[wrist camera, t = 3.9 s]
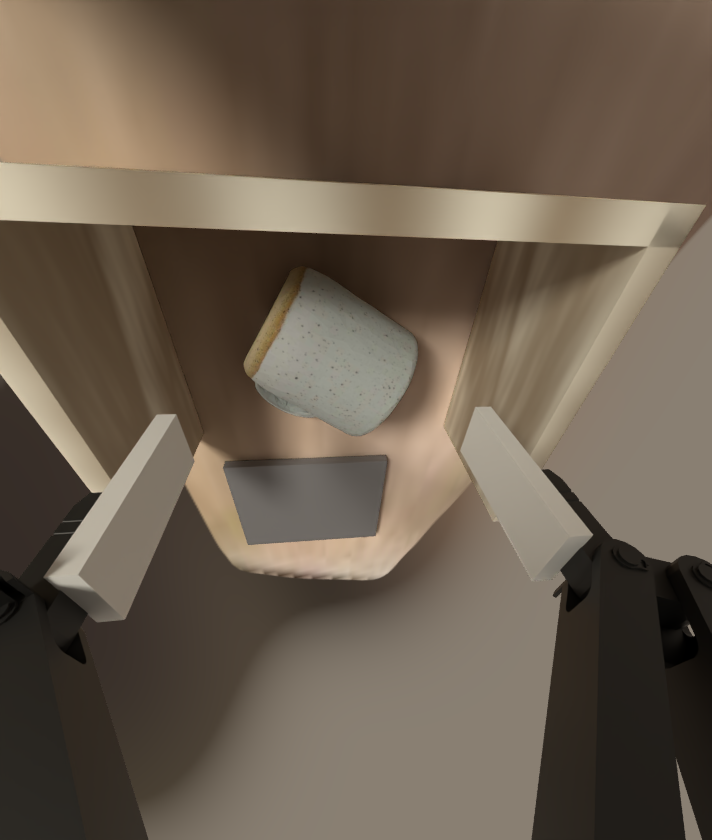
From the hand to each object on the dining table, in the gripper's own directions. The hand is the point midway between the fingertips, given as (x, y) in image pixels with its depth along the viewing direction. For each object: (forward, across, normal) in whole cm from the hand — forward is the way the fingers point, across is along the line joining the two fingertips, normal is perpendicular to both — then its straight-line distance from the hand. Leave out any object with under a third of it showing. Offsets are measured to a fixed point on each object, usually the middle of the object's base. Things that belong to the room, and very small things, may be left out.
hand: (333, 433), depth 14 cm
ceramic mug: (+10, 0, 0) cm, 10 cm away
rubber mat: (+10, -2, -18) cm, 21 cm away
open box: (+10, 0, +1) cm, 10 cm away
